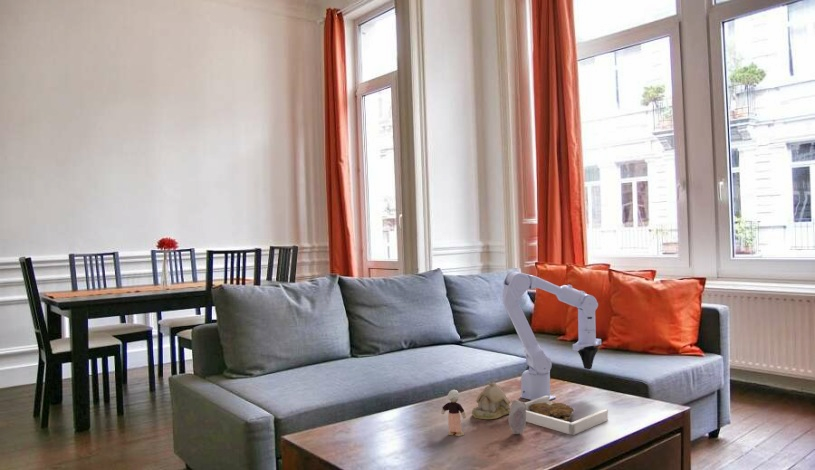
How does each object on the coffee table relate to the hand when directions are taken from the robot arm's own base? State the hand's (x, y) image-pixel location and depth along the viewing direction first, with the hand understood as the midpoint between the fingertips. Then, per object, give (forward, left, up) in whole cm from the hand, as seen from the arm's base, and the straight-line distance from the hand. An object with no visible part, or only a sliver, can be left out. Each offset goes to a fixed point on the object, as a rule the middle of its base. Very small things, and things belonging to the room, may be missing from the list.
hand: (587, 368), depth 205 cm
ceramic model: (-11, -37, -10) cm, 40 cm away
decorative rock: (+5, -26, -10) cm, 28 cm away
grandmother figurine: (-6, -59, -10) cm, 60 cm away
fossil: (+7, -47, -10) cm, 48 cm away
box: (+7, -27, -9) cm, 29 cm away
